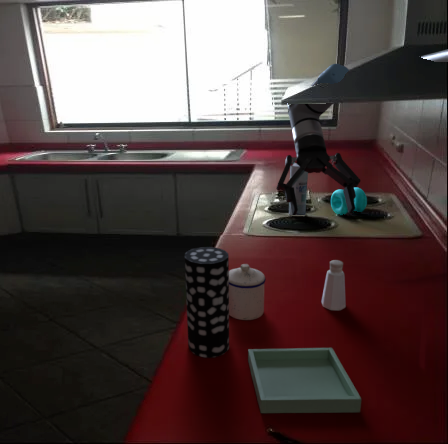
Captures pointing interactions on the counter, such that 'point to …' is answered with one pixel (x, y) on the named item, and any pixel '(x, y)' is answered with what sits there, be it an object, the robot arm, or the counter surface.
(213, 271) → the white-spotted black cylinder
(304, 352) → the tray
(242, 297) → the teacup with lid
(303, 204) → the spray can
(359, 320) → the counter surface
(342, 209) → the turquoise dumbbell
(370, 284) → the counter surface
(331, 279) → the salt shaker
